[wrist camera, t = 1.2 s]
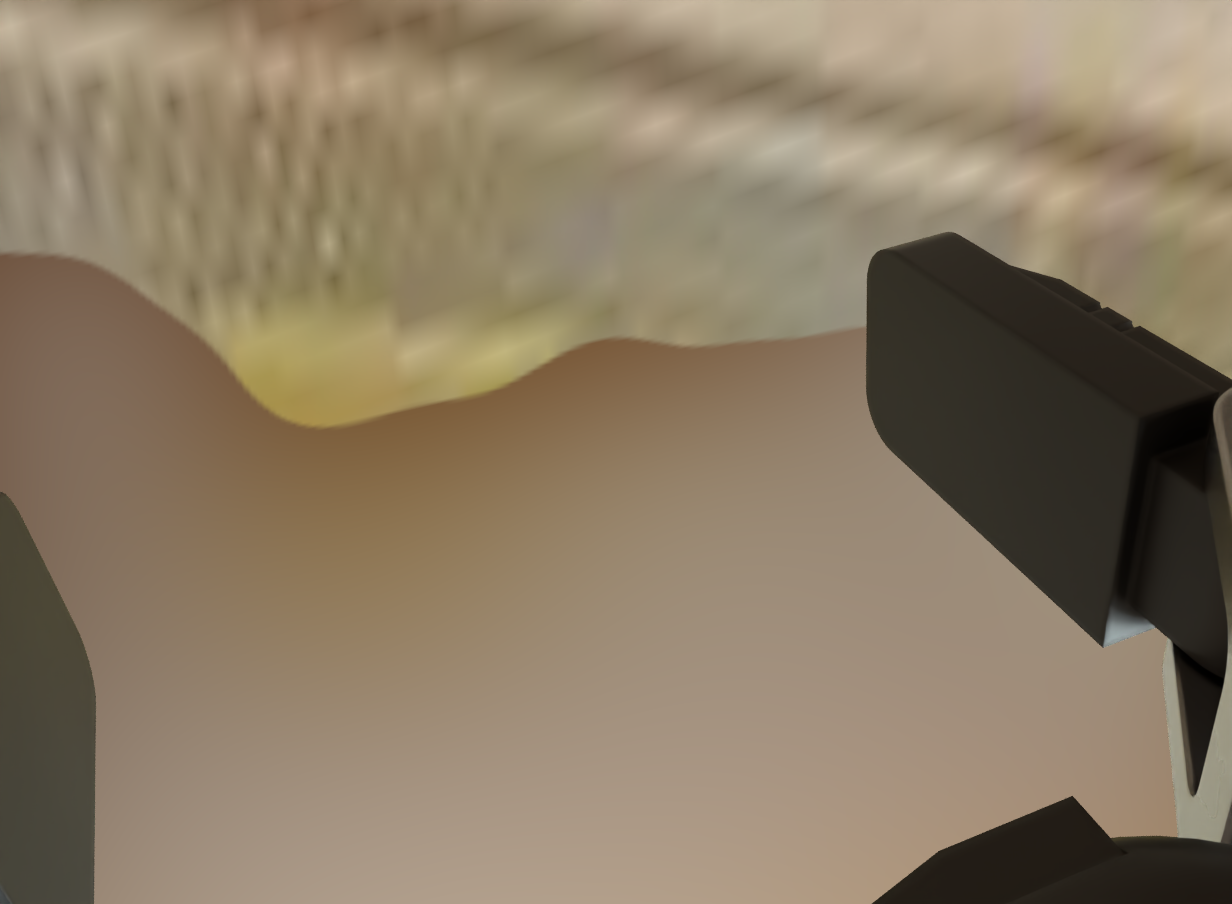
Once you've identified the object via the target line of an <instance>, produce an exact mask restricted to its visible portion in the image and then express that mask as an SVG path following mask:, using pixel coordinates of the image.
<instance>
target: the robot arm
mask: <svg viewBox="0 0 1232 904" xmlns="http://www.w3.org/2000/svg"><path fill="white" fill-rule="evenodd" d="M866 354H867V355H866V356H867V357H866V392H867V401H868V406H869V411H870V414H871V417H872V420H873V423H874V425H875V428H876V429H877V432H878V434H879V435H880V437H881V439H882V440H883V442H884V443H885V445H886V446H887V447H888V448H889V449H890V450H891V451H892V452H893V453H894V454H895V455H896V456H897V457H898V458H899V459H900V460H901V461H903V462H904V463H905V464H906V465H907V466H908V467H909V468H910V469H911V470H912V471H913V472H914V473H915V474H916V475H918V476H919V477H920V478H921V479H922V480H923V481H924V482H925V483H926V484H927V485H928V486H929V487H931V488H932V489H933V490H934V491H935V492H936V493H937V494H938V495H939V496H940V497H941V498H942V499H943V500H944V501H946V502H947V503H948V504H949V505H950V506H951V507H952V508H953V509H954V510H955V511H956V512H957V513H958V514H960V515H961V516H962V517H963V518H964V519H965V520H966V521H967V522H969V524H970V525H971V526H972V527H974V528H975V529H976V530H977V531H978V532H979V533H980V534H981V535H982V536H983V537H984V538H985V539H987V540H988V541H989V542H990V543H991V544H992V545H993V546H994V547H995V548H996V549H997V550H998V551H999V552H1000V553H1002V554H1003V555H1004V556H1005V557H1006V558H1007V559H1008V560H1009V561H1010V562H1011V563H1012V564H1013V565H1014V566H1016V567H1017V568H1018V569H1019V570H1020V571H1021V572H1022V573H1023V574H1024V575H1025V576H1026V577H1028V578H1029V579H1030V580H1031V581H1032V582H1033V583H1034V584H1035V585H1036V586H1037V587H1038V588H1039V589H1040V590H1041V591H1042V592H1043V593H1045V594H1046V595H1047V596H1048V597H1049V598H1050V599H1051V600H1052V601H1053V602H1054V603H1055V604H1056V605H1057V606H1059V607H1060V608H1061V609H1062V610H1063V611H1064V612H1065V613H1066V614H1067V615H1068V616H1069V617H1070V618H1071V619H1073V620H1074V621H1075V622H1076V623H1077V624H1078V625H1079V626H1080V627H1081V628H1082V629H1083V630H1084V631H1085V632H1087V633H1088V634H1089V635H1090V636H1091V637H1092V638H1093V639H1094V640H1095V641H1096V642H1097V643H1099V645H1101V646H1102V647H1103V648H1104V647H1106V646H1109V645H1112V644H1114V643H1117V642H1120V641H1122V640H1125V639H1127V638H1130V637H1133V636H1135V635H1138V634H1140V633H1143V632H1146V631H1148V630H1151V629H1154V628H1157V629H1159V630H1160V631H1161V632H1162V633H1163V634H1164V635H1165V636H1167V637H1168V639H1167V644H1166V649H1165V654H1164V659H1163V668H1162V669H1163V670H1162V672H1163V682H1164V693H1165V704H1166V714H1167V724H1168V735H1169V745H1170V756H1171V765H1172V776H1173V787H1174V797H1175V807H1176V817H1177V829H1178V837H1167V836H1139V837H1138V836H1137V837H1116V838H1110V837H1109V836H1108V835H1107V834H1106V833H1105V831H1104V830H1103V829H1102V828H1101V827H1100V826H1099V825H1098V824H1097V823H1096V822H1095V820H1093V818H1092V817H1091V816H1090V815H1089V814H1088V813H1087V811H1086V810H1085V809H1084V808H1083V807H1082V806H1081V805H1080V804H1079V803H1078V801H1077V800H1076V799H1075V798H1074V797H1073V796H1071V797H1069V798H1067V799H1064V800H1062V801H1059V802H1057V803H1054V804H1052V805H1049V806H1047V807H1045V808H1042V809H1040V810H1037V811H1035V812H1033V813H1030V814H1028V815H1025V816H1023V817H1020V818H1018V819H1015V820H1013V821H1011V822H1008V823H1006V824H1003V825H1001V826H999V827H996V828H994V829H991V830H989V831H986V832H984V833H982V834H979V835H977V836H974V837H972V838H970V839H967V840H965V841H962V842H960V843H958V844H955V845H953V846H950V847H948V848H945V849H943V850H940V851H938V852H937V853H936V854H935V855H933V856H932V857H931V858H929V860H927V861H926V862H925V863H923V864H922V865H921V866H919V867H918V868H917V869H916V870H914V871H913V872H912V873H910V874H909V875H908V876H907V877H905V878H904V879H903V880H901V881H900V882H899V883H898V884H896V885H895V886H894V887H893V888H891V889H890V890H889V891H888V892H886V893H885V894H884V895H882V896H881V897H880V898H879V899H877V900H876V901H875V902H873V903H872V904H1232V379H1230V378H1228V377H1226V376H1225V375H1223V374H1221V373H1220V372H1218V371H1216V370H1214V369H1213V368H1211V367H1209V366H1208V365H1206V364H1204V363H1202V362H1201V361H1199V360H1197V359H1196V358H1194V357H1192V356H1191V355H1189V354H1187V353H1185V352H1184V351H1182V350H1180V349H1179V348H1177V347H1175V346H1173V345H1172V344H1170V343H1168V342H1167V341H1165V340H1163V339H1161V338H1160V337H1158V336H1156V335H1155V334H1153V333H1151V332H1149V331H1148V330H1146V329H1144V328H1143V327H1141V326H1138V327H1135V328H1134V327H1133V325H1132V321H1131V320H1129V319H1127V318H1126V317H1124V316H1122V315H1120V314H1119V313H1117V312H1115V311H1114V310H1112V309H1110V308H1108V307H1106V308H1103V309H1102V308H1101V306H1100V302H1098V301H1096V300H1095V299H1093V298H1091V297H1090V296H1088V295H1086V294H1085V293H1083V292H1081V291H1079V290H1078V289H1076V288H1074V287H1073V286H1071V285H1069V284H1067V283H1066V282H1064V281H1062V280H1060V279H1056V278H1053V277H1049V276H1046V275H1042V274H1039V273H1035V272H1032V271H1028V270H1025V269H1021V268H1018V267H1014V266H1010V265H1008V264H1007V263H1005V262H1003V261H1002V260H1000V259H998V258H997V257H995V256H993V255H992V254H990V253H988V252H987V251H985V250H983V249H982V248H980V247H978V246H977V245H975V244H973V243H972V242H970V241H968V240H967V239H965V238H963V237H962V236H960V235H958V234H956V233H953V232H945V233H941V234H937V235H934V236H930V237H926V238H923V239H919V240H916V241H912V242H908V243H905V244H901V245H898V246H894V247H890V248H887V249H883V250H880V251H878V252H877V253H876V254H875V255H874V256H873V258H872V259H871V261H870V264H869V268H868V273H867V352H866ZM95 726H96V696H95V687H94V681H93V677H92V672H91V668H90V664H89V660H88V657H87V654H86V650H85V647H84V644H83V642H82V639H81V637H80V634H79V632H78V630H77V628H76V626H75V624H74V622H73V620H72V618H71V616H70V614H69V612H68V610H67V607H66V606H65V603H64V601H63V600H62V597H61V595H60V593H59V591H58V589H57V587H56V586H55V584H54V581H53V579H52V577H51V575H50V573H49V571H48V570H47V567H46V565H45V563H44V561H43V559H42V557H41V555H40V553H39V551H38V549H37V547H36V545H35V543H34V541H33V539H32V537H31V535H30V533H29V531H28V529H27V527H26V525H25V523H24V521H23V519H22V518H21V515H20V513H19V511H18V510H17V508H16V506H15V505H14V503H13V502H12V501H11V500H10V498H9V497H8V496H7V495H6V494H4V493H2V492H0V904H94V836H95V827H94V825H95V733H96V727H95Z"/></svg>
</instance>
